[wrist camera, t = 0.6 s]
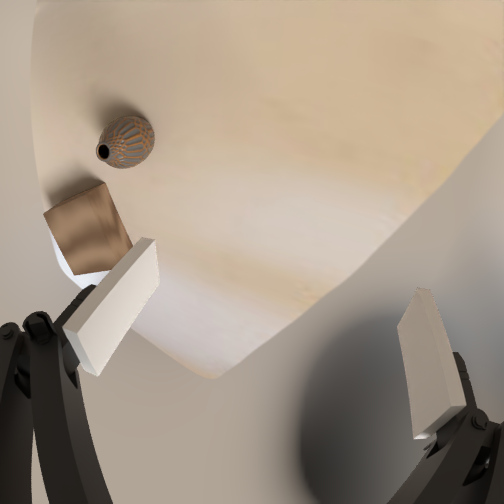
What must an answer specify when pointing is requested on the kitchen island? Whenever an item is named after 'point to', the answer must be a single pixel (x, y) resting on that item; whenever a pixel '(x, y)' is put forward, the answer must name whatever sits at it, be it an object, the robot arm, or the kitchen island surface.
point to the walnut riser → (89, 231)
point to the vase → (126, 142)
